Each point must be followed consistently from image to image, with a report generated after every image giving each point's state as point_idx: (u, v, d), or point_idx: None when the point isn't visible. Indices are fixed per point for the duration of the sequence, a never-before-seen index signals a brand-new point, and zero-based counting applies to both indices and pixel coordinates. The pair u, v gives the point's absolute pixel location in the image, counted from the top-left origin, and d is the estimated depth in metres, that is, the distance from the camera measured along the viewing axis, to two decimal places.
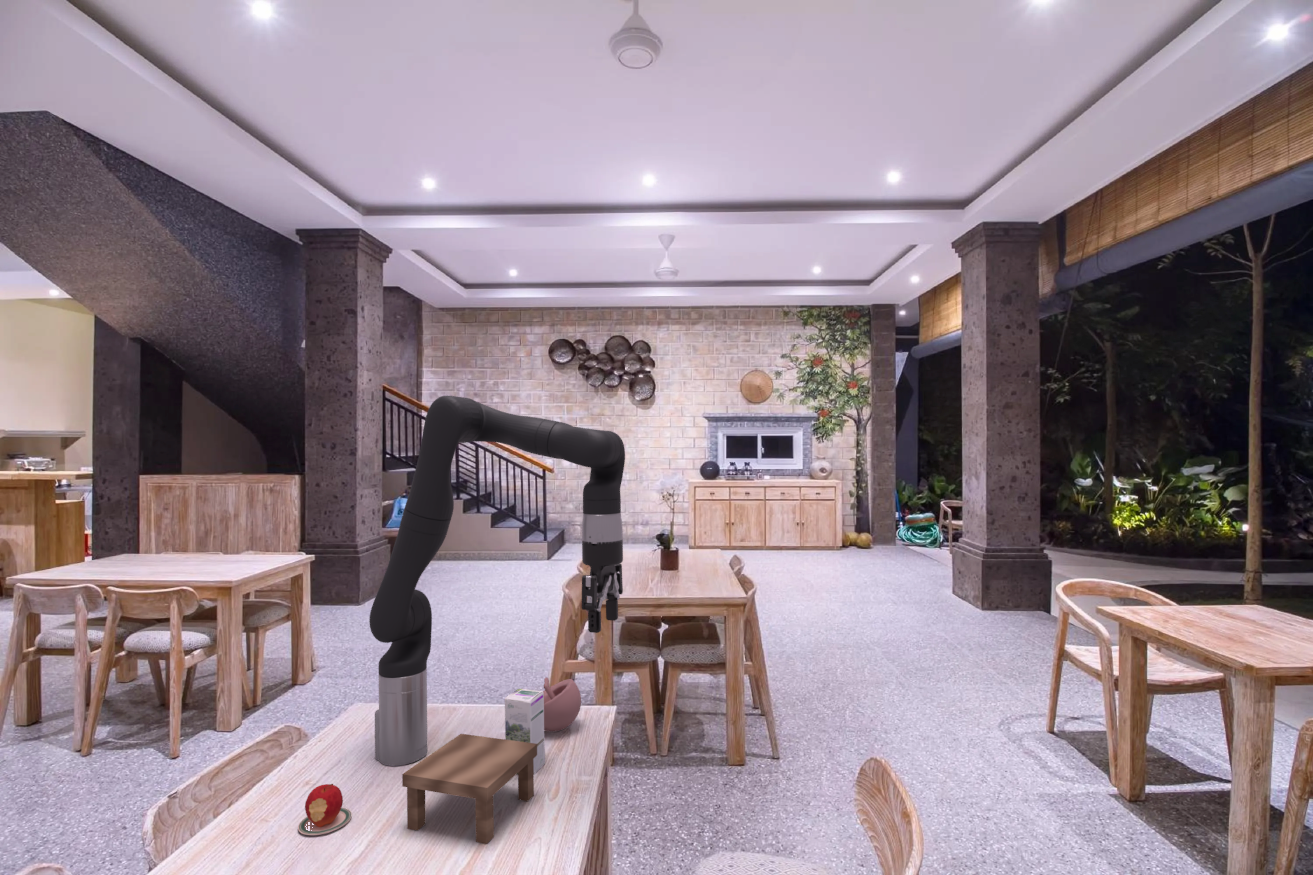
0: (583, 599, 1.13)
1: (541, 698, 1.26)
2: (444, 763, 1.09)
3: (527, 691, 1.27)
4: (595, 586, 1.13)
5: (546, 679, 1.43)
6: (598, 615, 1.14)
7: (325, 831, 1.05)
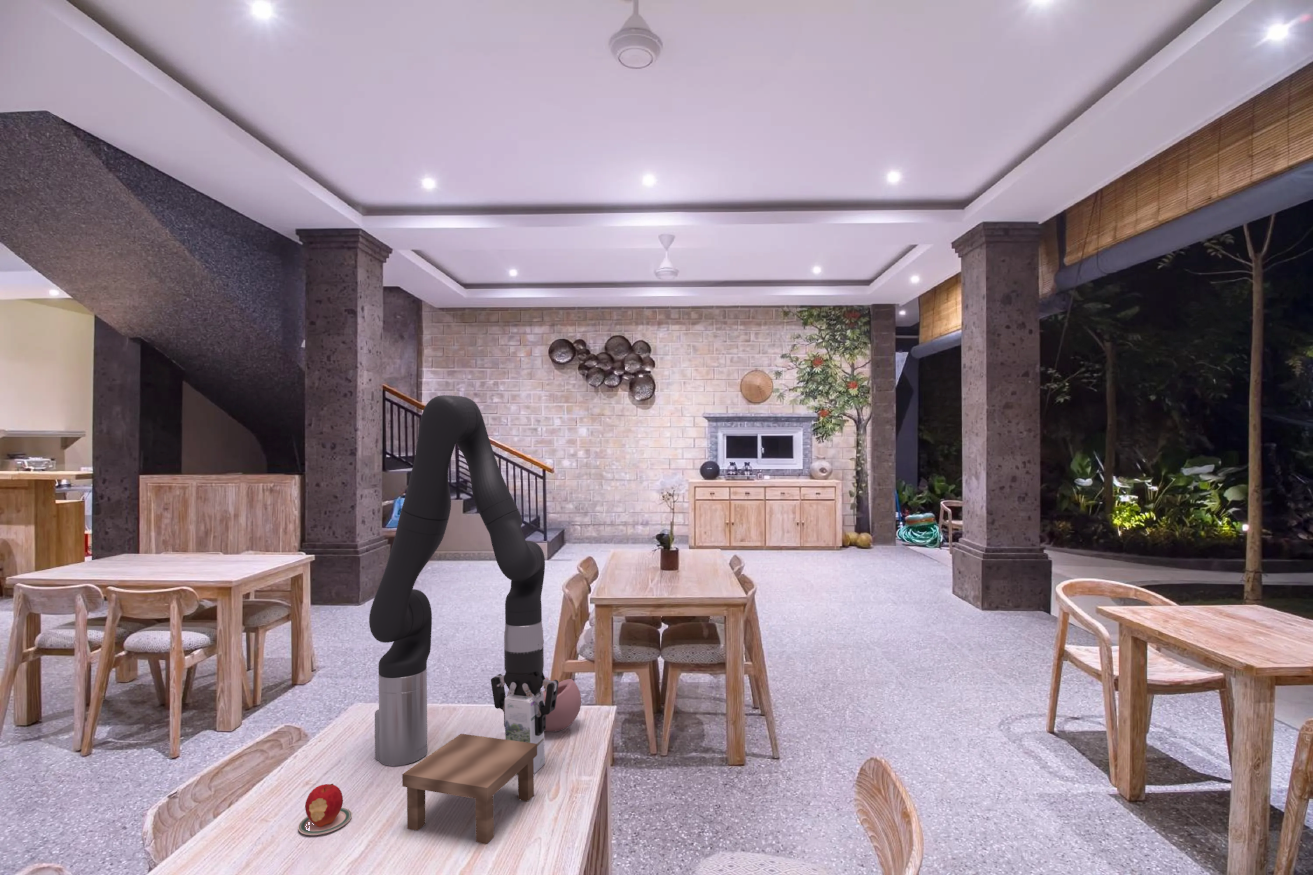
0: (550, 705, 1.23)
1: None
2: (444, 763, 1.09)
3: None
4: None
5: None
6: None
7: (325, 831, 1.05)
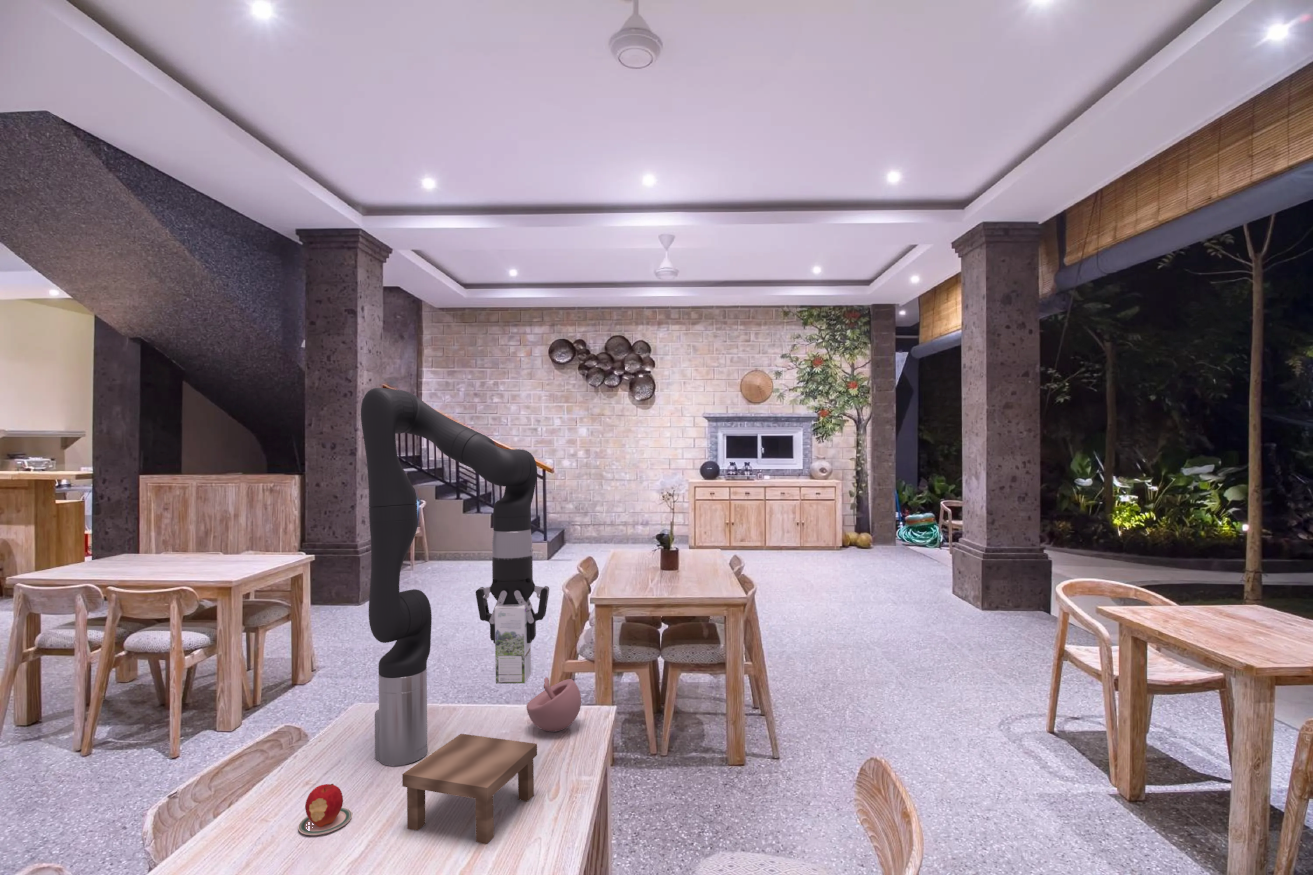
0: None
1: None
2: (444, 763, 1.09)
3: None
4: None
5: (546, 679, 1.43)
6: None
7: (325, 831, 1.05)
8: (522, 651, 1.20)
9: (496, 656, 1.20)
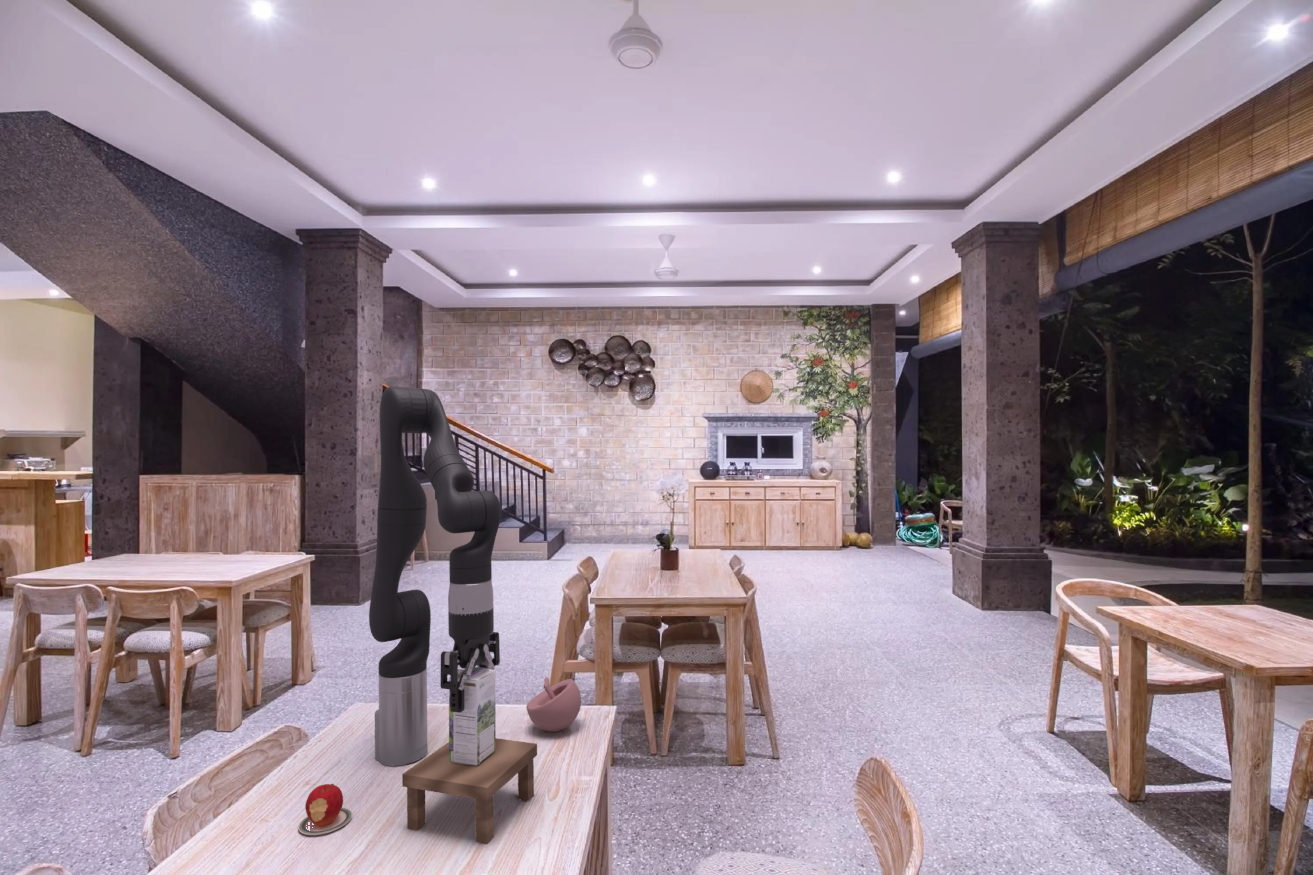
0: None
1: None
2: (444, 763, 1.09)
3: None
4: None
5: (546, 679, 1.43)
6: None
7: (325, 831, 1.05)
8: (494, 718, 1.13)
9: (477, 734, 1.08)
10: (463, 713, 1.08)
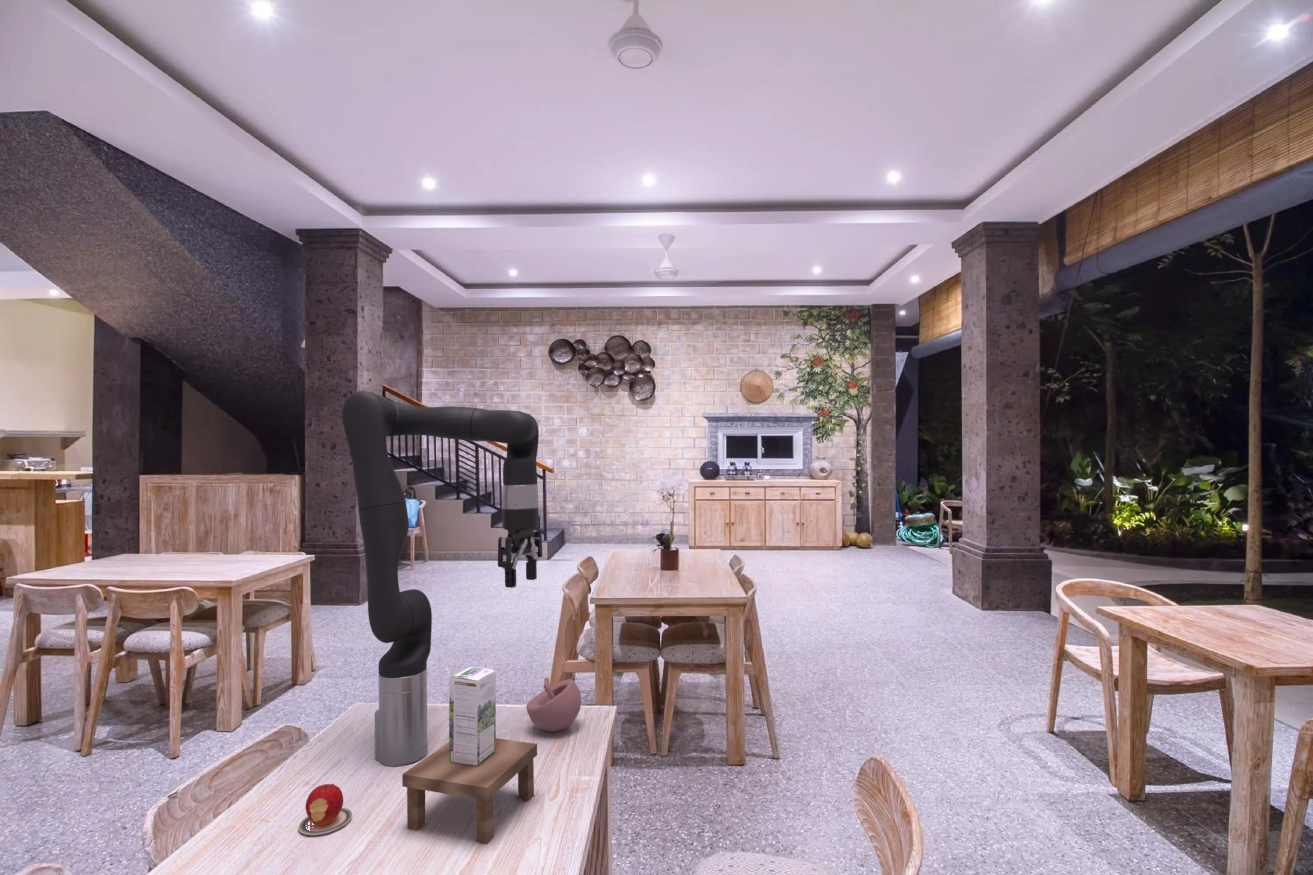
0: None
1: None
2: (444, 763, 1.09)
3: (466, 672, 1.12)
4: None
5: (546, 679, 1.43)
6: None
7: (326, 831, 1.05)
8: (495, 718, 1.13)
9: (478, 734, 1.08)
10: (463, 713, 1.08)
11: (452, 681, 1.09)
